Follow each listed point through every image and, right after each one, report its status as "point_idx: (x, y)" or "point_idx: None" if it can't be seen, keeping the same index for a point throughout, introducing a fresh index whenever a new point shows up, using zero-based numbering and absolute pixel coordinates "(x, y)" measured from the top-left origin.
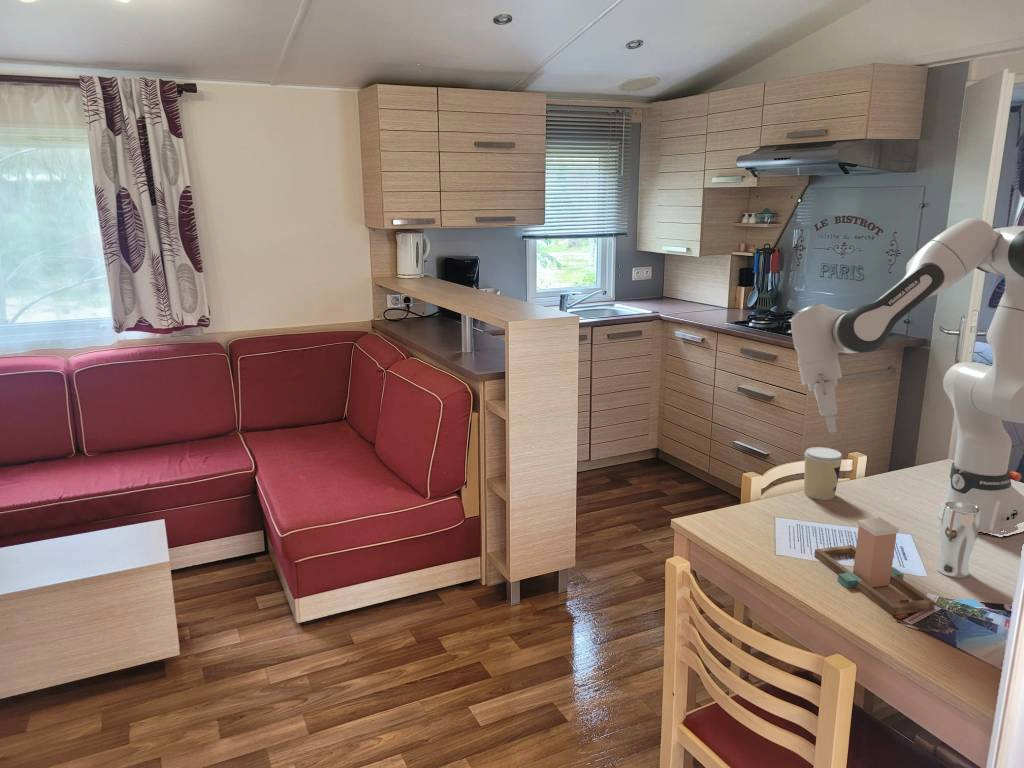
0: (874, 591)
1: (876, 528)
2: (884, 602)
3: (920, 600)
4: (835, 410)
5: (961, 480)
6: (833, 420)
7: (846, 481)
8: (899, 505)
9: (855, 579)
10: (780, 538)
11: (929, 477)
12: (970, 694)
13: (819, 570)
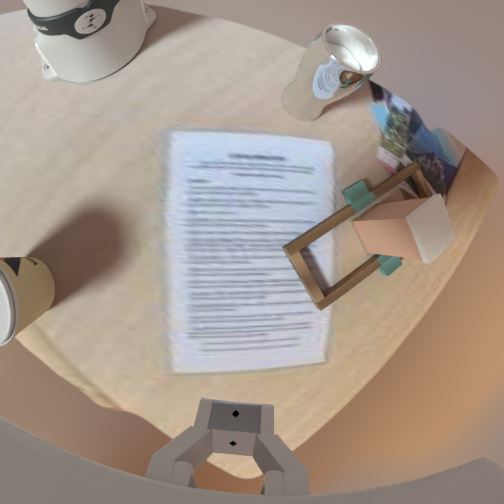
0: None
1: (448, 233)
2: None
3: (418, 178)
4: (499, 466)
5: (98, 13)
6: (293, 460)
7: None
8: (45, 140)
9: None
10: (264, 361)
11: None
12: (494, 182)
13: (359, 298)
